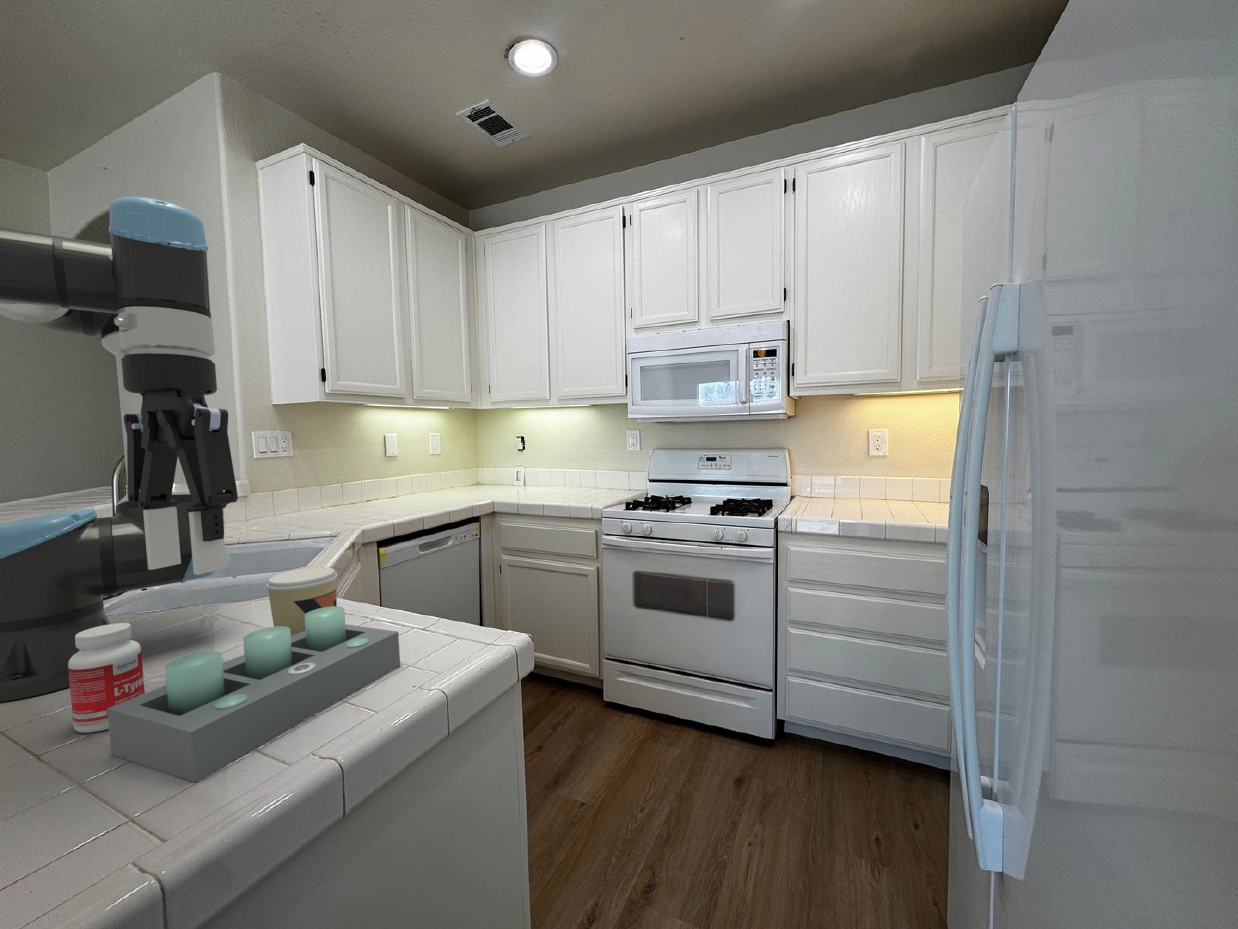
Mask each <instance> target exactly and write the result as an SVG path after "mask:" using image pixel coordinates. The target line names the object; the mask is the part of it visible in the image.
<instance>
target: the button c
mask: <svg viewBox="0 0 1238 929" xmlns="http://www.w3.org/2000/svg"><path fill="white" fill-rule="evenodd" d="M345 624H346V613H345V607H343V606H331V607H324V608H319V609H315V610H312V611H310V612H308V613H306V614H305V629H306V644H307V650H313V651H319V652H323V651H325V650H328V649H330V648H332V647H334V646H336V645H339V644H341V643H343V642H345V641H346V627H345Z"/></svg>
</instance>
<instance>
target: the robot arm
mask: <svg viewBox="0 0 1238 929" xmlns="http://www.w3.org/2000/svg"><path fill="white" fill-rule="evenodd" d="M108 233H110V244H108V243H107V244H106V243H102V242H96V241H95V242H94V241H91V240H83V239H77V238H73V237H66V236H59V235H52V234H51V235H50V234H46V233H40V232H38V233H37V232H35V231H28V230H23V229H18V228H17V229H16V228H12V227H5V226H1V225H0V315H1V316H2V317H4V318H5V317H6V318H8V319H11V320H14V321H16V322H20V323H23V324H27V325H30V326H34V327H38V328H43V329H46V330H50V331H55V332H61V333H66V334H72V335H82V336H83V335H84V336H92V337H93V336H94V337H101V338H100V339H101V346H102V347H103V348H104V349H105V350H106V351H108V352H110V353H111V354H112V355H113V356H115V362H116V372H117V385H118V393H119V394H118V395H119V406H120V407H119V408H120V417H121V418H120V419H121V429H122V439H123V450H124V451H123V452H124V463H125V474H126V476H125V477H126V485H127V494H125V496H124V497H122V499H120V500H119V501H118V502H116V503H115V513H116V514H115V515H114V516H108V517H107V516H106V517H98V513H96V511H95V510H94V509H92V508H86V509H85V508H84V509H78V510H76V509H75V510H69V511H62V512H57V513H50V514H45V515H40V516H34V517H33V516H32V517H29V518H28V517H27V518H23V519H19V520H18V519H17V520H13V521H10V522H4V523H1V524H0V703H1V702H8V701H14V700H20V699H26V698H30V697H35V696H39V695H44V694H46V693H47V694H48V693H50V692H56V691H58V690H63V689H65V688H70V683H69V671H68V662H69V660H70V658H71V657H72V656H73V655H74V654H76V653H77V652H79V650H80V649H78V648H76V645H75V635H76V634H78V633H80V632H82V631H84V630H87V629H91V628H94V627H98V626H103V625H109V624H112V623H111V622H110V619H109V618H108V616H107V615H106V612H105V607H104V606H105V605H104V596H107V595H111V594H116V593H117V594H119V593H123V592H129V591H137V590H140V589H147V588H152V587H158V586H165V585H170V584H176V583H181V584H185V583H186V582H188V581H192V580H193V581H194V580H199V579H203V578H206V577H210V576H213V574H215V573H217V571H219V570H224V569H227V561H226V560H227V559H226V546H225V515H224V513H225V511H224V509H226V507H227V506H228V505H229V504H232V503H236V502H237V501H238V498H239V496H238V490H237V484H236V483H237V482H236V477H235V471H234V465H233V459H232V458H233V457H232V452H231V447H230V440H229V433H228V430H229V429H228V428H229V427H228V426H229V412H228V409H225V408H209V405H208V403H207V402H206V398H205V396H210V395H213V394H215V393H217V391H218V384H217V371H216V363H215V362H214V361H213V360H211V359H209V357H210V358H211V357H212V356H214V355H215V342H214V341H215V339H214V330H213V329H214V328H213V319H212V314H211V302H210V287H209V272H208V271H209V270H208V252H207V251H209V246H208V244H207V242H206V241H207V240H206V234H205V227H204V224H203V221H202V220H201V219H200V218H199V217H198V215H197V214H195V213H194V212H193V211H190V210H189V209H187V208H186V207H185V208H184V207H182V206H179V205H177V204H175V203H172V202H168V201H164V200H160V199H159V200H158V199H156V198H150V197H141V196H125V197H124V196H123V197H119V198H116V199H114V200H112V202H111V203H110V204H109V225H108Z"/></svg>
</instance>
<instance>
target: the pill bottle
mask: <svg viewBox="0 0 1238 929" xmlns="http://www.w3.org/2000/svg"><path fill="white" fill-rule="evenodd" d="M131 637H132V625H131V624H130V623H129V622H128V623H126V622H117V623H111V624H109V625H103V626H98V627H94V628H91V629H87V630H84V631H82V632H80V633H78V634H76V635H75V645H76V648H78V649H80V650H79V652H77V653H76V654H74V655H73V656H72V657H71V658H70V660H69V662H68V671H69V683H70V686H69V690H70V702H71V703H70V704H71V712H72V713H71V714H72V715H71V716H72V724H73V728H74V730H75V731H76V732H78V733H86V734H88V733H95V732H101V731H105V730H109V722H108V711H107V708H110V707H112V706H115V705H117V704H120V703H122V702H125V701H127V700H130V699H133V698H135V697H138V696H140V695H143V694H145V693H146V692H145V691H146V690H145V680H144V678H145V677H144V669H143V668H144V666H143V654H142V653H143V652H142V646H141V644H140V643H139V642H138V641H135V640H131V639H130V638H131Z"/></svg>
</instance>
